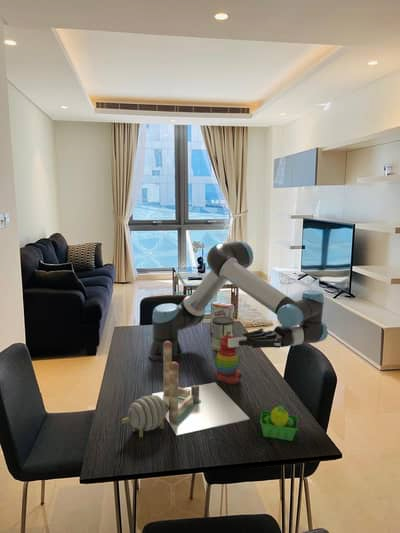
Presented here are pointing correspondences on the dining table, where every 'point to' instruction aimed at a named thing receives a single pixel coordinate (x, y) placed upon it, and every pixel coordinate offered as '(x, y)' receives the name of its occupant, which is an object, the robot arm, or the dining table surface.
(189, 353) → the dining table surface
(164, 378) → the wooden post with ball
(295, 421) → the fruit basket
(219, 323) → the coffee can
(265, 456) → the dining table surface
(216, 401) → the card
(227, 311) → the candy bar box
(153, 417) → the toy sheep
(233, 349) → the stacking bear
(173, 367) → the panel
